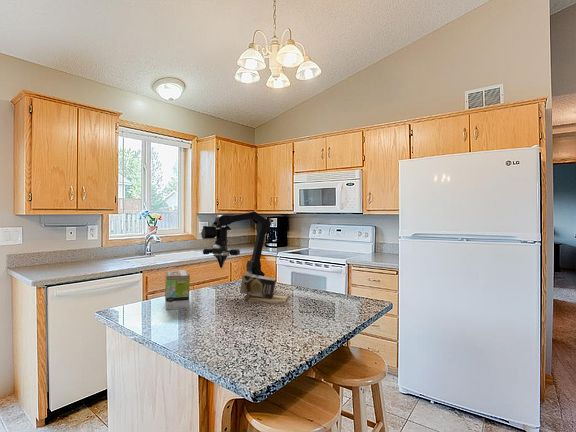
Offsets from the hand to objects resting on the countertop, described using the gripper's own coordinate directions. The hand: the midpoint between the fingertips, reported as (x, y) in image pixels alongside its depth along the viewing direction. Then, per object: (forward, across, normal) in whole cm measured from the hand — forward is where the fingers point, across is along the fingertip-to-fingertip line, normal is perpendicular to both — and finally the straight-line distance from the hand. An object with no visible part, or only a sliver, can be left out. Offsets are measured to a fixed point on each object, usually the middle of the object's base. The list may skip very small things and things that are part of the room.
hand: (221, 267), depth 175 cm
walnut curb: (+13, +18, -8) cm, 23 cm away
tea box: (+13, -12, -26) cm, 32 cm away
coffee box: (+6, +14, -9) cm, 17 cm away
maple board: (+13, +28, -9) cm, 32 cm away
